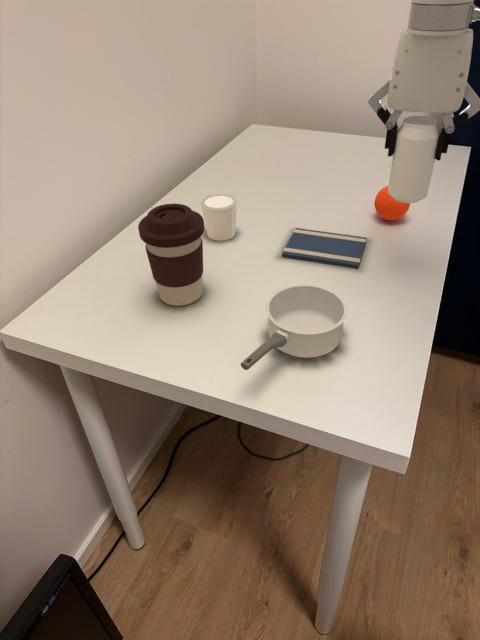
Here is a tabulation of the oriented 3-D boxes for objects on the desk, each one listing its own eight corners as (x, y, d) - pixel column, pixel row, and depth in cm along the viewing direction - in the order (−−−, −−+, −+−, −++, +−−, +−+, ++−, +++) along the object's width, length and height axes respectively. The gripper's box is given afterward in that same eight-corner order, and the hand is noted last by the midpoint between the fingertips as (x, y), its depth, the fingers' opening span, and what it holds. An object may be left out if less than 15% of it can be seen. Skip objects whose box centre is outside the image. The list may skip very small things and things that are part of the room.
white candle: (229, 222, 101) (227, 190, 96) (244, 236, 96) (243, 204, 91) (198, 230, 98) (195, 198, 94) (212, 245, 93) (209, 212, 89)
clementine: (371, 207, 103) (376, 175, 99) (405, 209, 102) (412, 176, 98) (372, 225, 97) (377, 192, 93) (408, 227, 96) (415, 193, 92)
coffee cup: (220, 299, 80) (214, 217, 70) (165, 319, 76) (150, 236, 67) (195, 271, 87) (186, 193, 77) (143, 288, 83) (127, 208, 74)
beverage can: (434, 201, 77) (452, 123, 69) (399, 208, 76) (413, 129, 68) (412, 187, 82) (426, 112, 74) (379, 192, 80) (390, 117, 73)
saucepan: (212, 376, 67) (209, 346, 63) (293, 304, 78) (294, 275, 75) (281, 415, 61) (282, 385, 57) (357, 331, 73) (362, 301, 69)
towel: (366, 241, 93) (367, 237, 92) (358, 268, 85) (358, 264, 85) (295, 231, 97) (295, 227, 96) (281, 257, 89) (281, 252, 89)
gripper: (510, 14, 63) (474, 151, 74) (375, 14, 68) (361, 143, 80) (514, 23, 58) (475, 169, 69) (367, 22, 63) (353, 159, 74)
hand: (414, 154), depth 74 cm, fingers closed on beverage can, 6 cm apart
